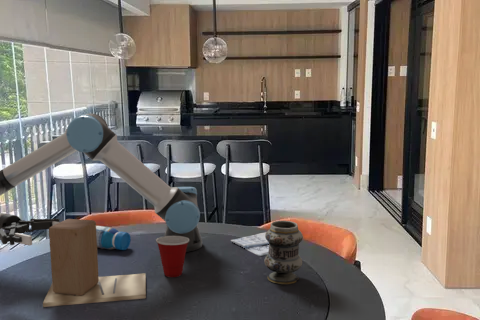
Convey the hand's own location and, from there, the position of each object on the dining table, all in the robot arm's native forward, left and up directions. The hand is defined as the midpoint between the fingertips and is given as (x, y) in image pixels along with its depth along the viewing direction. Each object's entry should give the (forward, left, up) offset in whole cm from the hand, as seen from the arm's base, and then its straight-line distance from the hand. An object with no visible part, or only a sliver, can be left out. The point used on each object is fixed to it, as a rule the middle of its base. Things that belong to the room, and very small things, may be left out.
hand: (50, 234), depth 145 cm
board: (-14, +6, -17) cm, 22 cm away
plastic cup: (-37, -3, -17) cm, 40 cm away
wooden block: (-8, +6, -15) cm, 18 cm away
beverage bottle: (-4, -40, -12) cm, 42 cm away
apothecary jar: (-71, +8, -17) cm, 73 cm away
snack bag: (-73, -25, -17) cm, 79 cm away
